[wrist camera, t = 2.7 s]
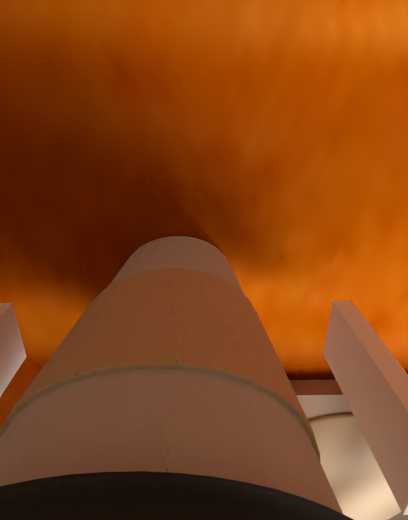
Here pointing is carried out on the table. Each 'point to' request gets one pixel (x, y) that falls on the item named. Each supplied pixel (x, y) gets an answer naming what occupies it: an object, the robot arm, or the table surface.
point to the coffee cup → (164, 407)
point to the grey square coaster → (346, 453)
